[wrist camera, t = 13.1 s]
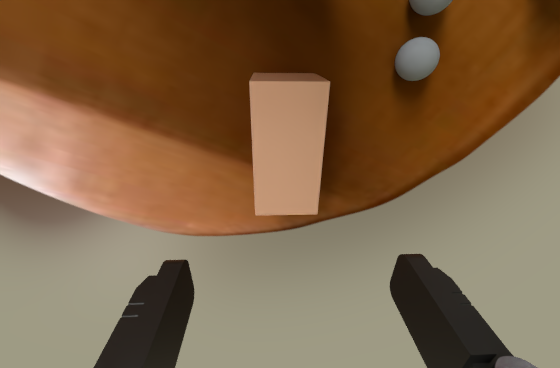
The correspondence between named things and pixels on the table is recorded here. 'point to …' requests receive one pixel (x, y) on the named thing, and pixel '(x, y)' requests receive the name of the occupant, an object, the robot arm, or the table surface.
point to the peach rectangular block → (288, 141)
